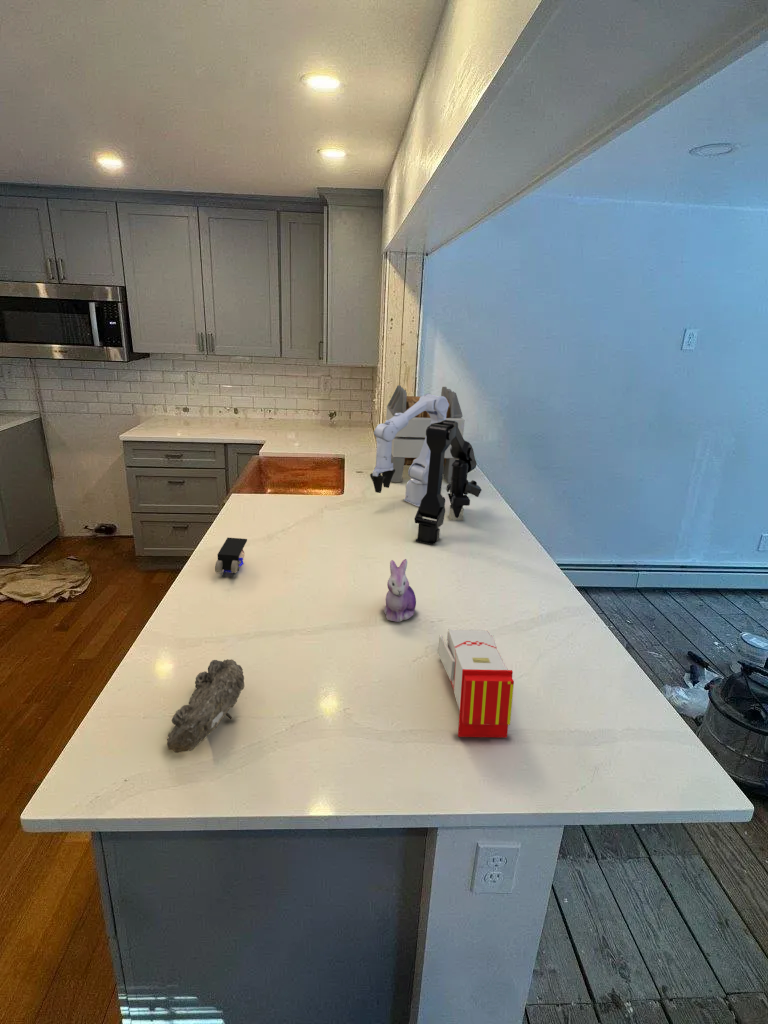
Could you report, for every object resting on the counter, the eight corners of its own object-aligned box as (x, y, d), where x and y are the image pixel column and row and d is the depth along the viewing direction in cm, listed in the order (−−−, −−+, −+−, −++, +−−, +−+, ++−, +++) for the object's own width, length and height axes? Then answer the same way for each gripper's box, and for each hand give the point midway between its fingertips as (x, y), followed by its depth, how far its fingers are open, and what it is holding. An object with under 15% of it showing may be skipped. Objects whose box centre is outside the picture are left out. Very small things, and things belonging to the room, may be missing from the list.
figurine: (392, 627, 141) (395, 572, 136) (374, 608, 149) (376, 556, 144) (425, 619, 145) (429, 566, 140) (405, 601, 154) (408, 550, 149)
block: (450, 520, 215) (451, 508, 214) (448, 516, 219) (449, 504, 218) (462, 520, 215) (463, 508, 214) (460, 516, 219) (462, 505, 218)
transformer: (382, 463, 289) (386, 382, 275) (445, 464, 293) (451, 384, 279) (390, 482, 257) (394, 392, 243) (460, 483, 261) (468, 394, 247)
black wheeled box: (238, 584, 162) (249, 557, 175) (236, 562, 158) (247, 536, 172) (215, 584, 161) (227, 556, 175) (212, 561, 158) (225, 535, 171)
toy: (488, 613, 130) (523, 677, 101) (484, 667, 133) (517, 744, 104) (435, 612, 130) (455, 676, 101) (432, 666, 133) (451, 743, 103)
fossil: (192, 660, 117) (244, 628, 112) (224, 691, 120) (276, 661, 115) (142, 746, 98) (202, 712, 93) (182, 779, 101) (242, 748, 96)
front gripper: (485, 484, 203) (481, 524, 208) (476, 470, 221) (472, 508, 226) (455, 483, 203) (451, 524, 208) (447, 469, 220) (444, 507, 226)
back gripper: (385, 461, 207) (383, 496, 212) (400, 453, 220) (399, 486, 224) (368, 458, 210) (366, 493, 215) (384, 450, 222) (382, 483, 227)
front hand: (455, 515), depth 217 cm, fingers closed on block, 4 cm apart
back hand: (382, 489), depth 220 cm, fingers open, 7 cm apart
